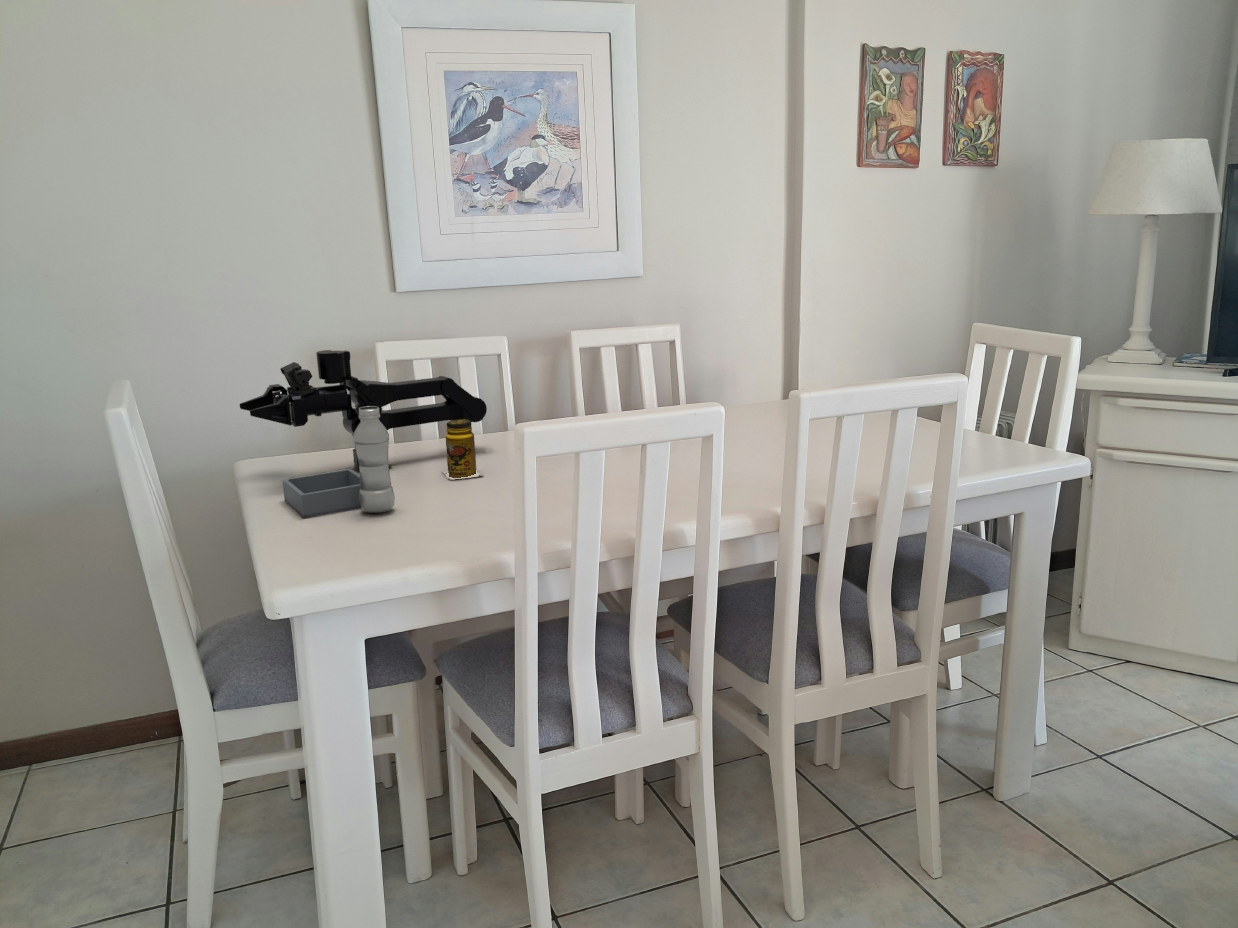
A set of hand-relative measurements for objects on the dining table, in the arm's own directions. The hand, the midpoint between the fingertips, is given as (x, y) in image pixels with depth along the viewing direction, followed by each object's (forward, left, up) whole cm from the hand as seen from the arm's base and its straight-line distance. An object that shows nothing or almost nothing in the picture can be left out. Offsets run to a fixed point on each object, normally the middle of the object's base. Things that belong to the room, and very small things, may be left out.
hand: (244, 409), depth 189 cm
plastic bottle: (-15, +32, -17) cm, 39 cm away
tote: (-9, +21, -17) cm, 28 cm away
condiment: (-39, +17, -17) cm, 46 cm away
